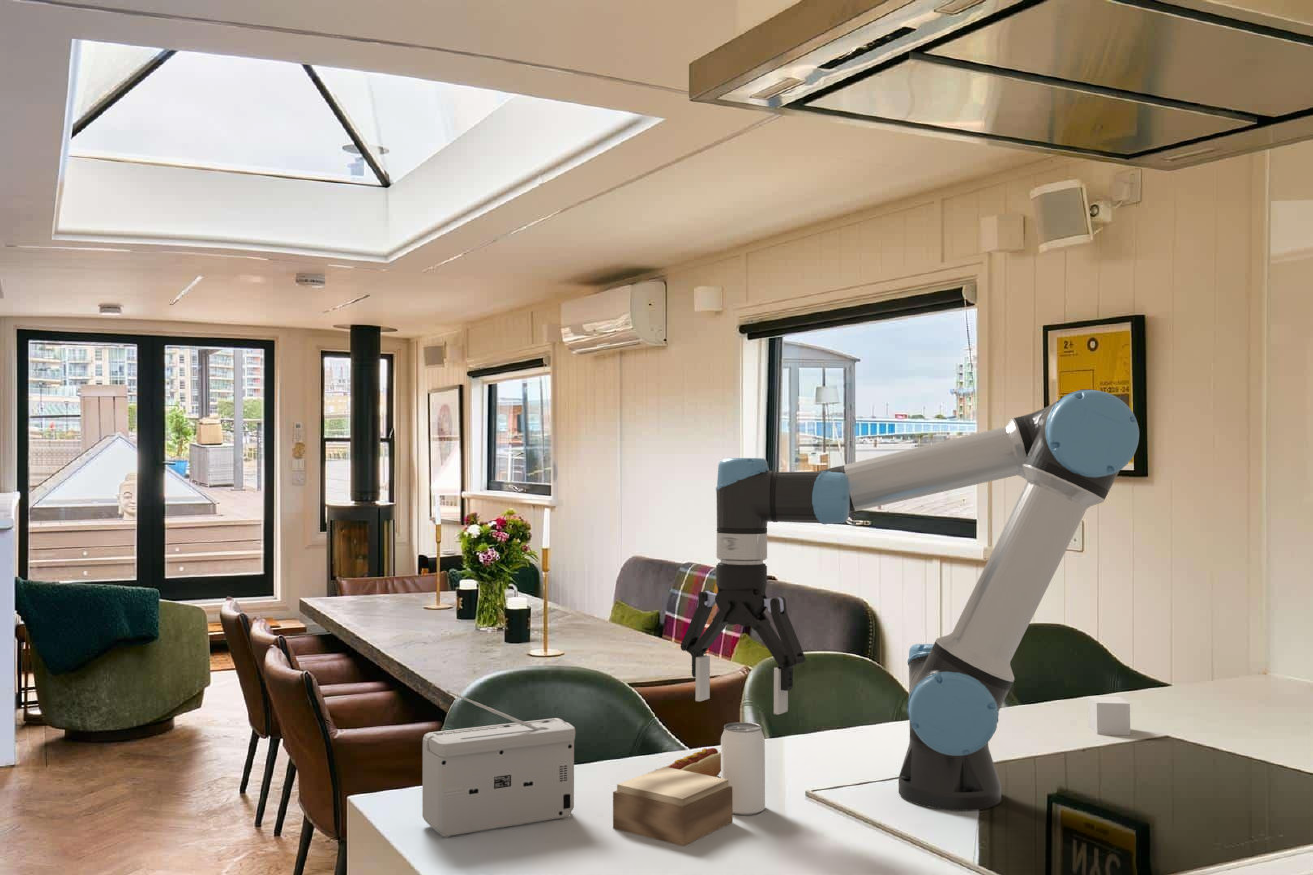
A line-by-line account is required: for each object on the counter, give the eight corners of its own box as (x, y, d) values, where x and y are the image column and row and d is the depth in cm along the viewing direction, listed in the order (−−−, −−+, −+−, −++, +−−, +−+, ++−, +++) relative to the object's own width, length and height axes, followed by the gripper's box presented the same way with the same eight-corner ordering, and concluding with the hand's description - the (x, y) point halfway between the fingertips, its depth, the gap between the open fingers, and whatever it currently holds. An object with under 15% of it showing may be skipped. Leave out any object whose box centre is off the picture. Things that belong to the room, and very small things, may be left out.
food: (685, 799, 161) (685, 766, 161) (655, 793, 164) (655, 760, 164) (730, 777, 173) (730, 746, 173) (701, 772, 176) (701, 741, 176)
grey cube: (1097, 734, 200) (1096, 702, 201) (1088, 727, 206) (1087, 696, 207) (1130, 735, 200) (1129, 703, 200) (1120, 728, 206) (1120, 696, 206)
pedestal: (732, 822, 150) (732, 779, 150) (683, 845, 140) (683, 800, 141) (664, 806, 157) (664, 765, 157) (613, 828, 148) (613, 784, 148)
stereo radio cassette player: (558, 803, 159) (558, 669, 160) (580, 819, 151) (580, 678, 152) (420, 825, 149) (421, 682, 150) (436, 843, 142) (437, 692, 143)
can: (762, 817, 152) (762, 732, 153) (718, 814, 153) (717, 730, 154) (767, 803, 158) (766, 722, 159) (724, 800, 160) (724, 720, 160)
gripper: (659, 558, 162) (657, 698, 161) (803, 568, 147) (802, 723, 146) (687, 555, 168) (686, 690, 167) (829, 565, 153) (828, 713, 152)
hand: (740, 706), depth 157 cm, fingers open, 13 cm apart
